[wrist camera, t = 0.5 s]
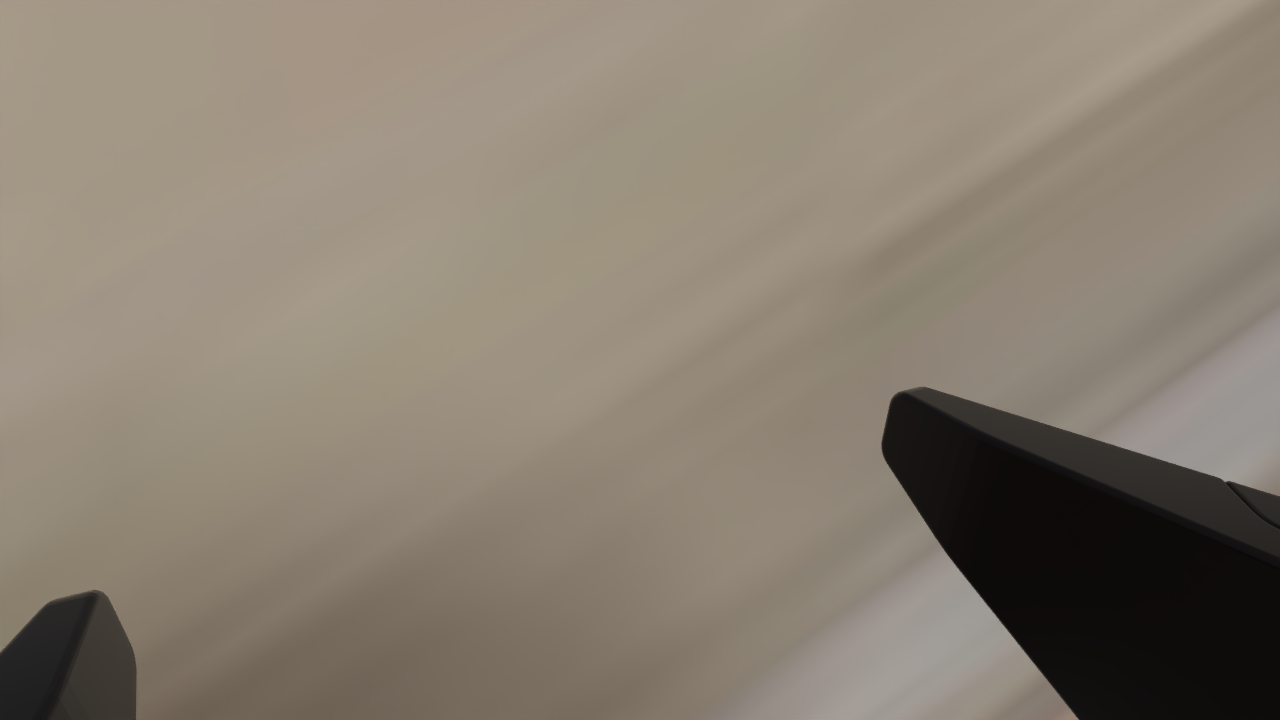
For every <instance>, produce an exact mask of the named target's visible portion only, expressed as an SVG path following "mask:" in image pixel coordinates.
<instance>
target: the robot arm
mask: <svg viewBox="0 0 1280 720" xmlns="http://www.w3.org/2000/svg"><path fill="white" fill-rule="evenodd" d="M881 445H882V453H883V456H884V458H885V461H886V462H887V464H888V466H889V467H890V469H891V470H892V472H893V473H894V475H895V476H896V478H897V479H898V481H899V482H900V484H901V485H902V487H903V489H904V490H905V492H906V493H907V495H908V496H909V498H910V499H911V501H912V502H913V504H914V505H915V507H916V508H917V510H918V512H919V513H920V515H921V516H922V518H923V519H924V521H925V522H926V524H927V525H928V527H929V528H930V530H931V531H932V533H933V535H934V536H935V538H936V539H937V540H938V542H939V543H940V545H941V546H942V548H943V549H944V551H945V552H946V553H947V555H948V556H949V557H950V559H951V560H952V561H953V563H954V564H955V565H956V567H957V568H958V569H959V570H960V572H961V573H962V574H963V575H964V577H965V578H966V579H967V580H968V582H969V583H970V584H971V585H972V587H973V588H974V589H975V590H976V592H977V593H978V594H979V595H980V597H981V598H982V599H983V600H984V602H985V603H986V604H987V605H988V607H989V608H990V609H991V610H992V612H993V613H994V614H995V615H996V617H997V618H998V619H999V620H1000V622H1001V623H1002V624H1003V625H1004V627H1005V628H1006V629H1007V630H1008V632H1009V633H1010V634H1011V635H1012V637H1013V638H1014V639H1015V640H1016V642H1017V643H1018V644H1019V645H1020V647H1021V648H1022V649H1023V650H1024V652H1025V653H1026V654H1027V655H1028V657H1029V658H1030V659H1031V660H1032V662H1033V663H1034V664H1035V665H1036V667H1037V668H1038V669H1039V670H1040V672H1041V673H1042V674H1043V675H1044V677H1045V678H1046V679H1047V680H1048V682H1049V683H1050V684H1051V685H1052V687H1053V688H1054V689H1055V690H1056V692H1057V693H1058V694H1059V695H1060V697H1061V698H1062V699H1063V701H1064V702H1065V703H1066V704H1067V706H1068V707H1069V708H1070V709H1071V711H1072V712H1073V713H1074V714H1075V716H1076V717H1077V718H1078V719H1079V720H1280V496H1276V495H1273V494H1270V493H1266V492H1263V491H1260V490H1257V489H1253V488H1250V487H1247V486H1244V485H1240V484H1237V483H1234V482H1231V481H1227V482H1224V481H1223V480H1222V479H1220V478H1217V477H1214V476H1211V475H1208V474H1205V473H1201V472H1198V471H1195V470H1192V469H1188V468H1185V467H1182V466H1179V465H1176V464H1172V463H1169V462H1166V461H1163V460H1159V459H1156V458H1153V457H1150V456H1147V455H1143V454H1140V453H1137V452H1134V451H1130V450H1127V449H1124V448H1121V447H1118V446H1114V445H1111V444H1108V443H1105V442H1101V441H1098V440H1095V439H1092V438H1089V437H1085V436H1082V435H1079V434H1076V433H1072V432H1069V431H1066V430H1063V429H1060V428H1056V427H1053V426H1050V425H1047V424H1043V423H1040V422H1037V421H1034V420H1031V419H1027V418H1024V417H1021V416H1018V415H1014V414H1011V413H1008V412H1005V411H1002V410H998V409H995V408H992V407H989V406H985V405H982V404H979V403H976V402H973V401H969V400H966V399H963V398H960V397H956V396H953V395H950V394H947V393H944V392H940V391H937V390H934V389H931V388H927V387H917V388H913V389H909V390H905V391H901V392H898V393H897V394H895V395H894V396H893V398H892V399H891V402H890V405H889V410H888V414H887V419H886V424H885V428H884V433H883V437H882V443H881ZM0 720H136V661H135V656H134V652H133V648H132V646H131V644H130V641H129V639H128V637H127V635H126V633H125V631H124V629H123V627H122V625H121V623H120V621H119V618H118V616H117V614H116V612H115V610H114V608H113V606H112V604H111V602H110V600H109V598H108V597H107V596H106V595H105V594H104V593H103V592H101V591H98V590H91V591H87V592H83V593H79V594H75V595H71V596H67V597H63V598H59V599H56V600H53V601H50V602H49V603H47V604H46V605H45V606H44V607H43V608H41V609H40V611H39V612H38V613H37V614H36V615H35V616H34V617H33V618H32V619H31V620H30V621H29V622H28V623H27V624H26V626H25V627H24V628H23V629H22V630H21V631H20V632H19V633H18V634H17V635H16V636H15V637H14V638H13V640H12V641H11V642H10V643H9V644H8V645H7V646H6V647H5V648H4V649H3V650H2V651H1V652H0Z"/></svg>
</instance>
